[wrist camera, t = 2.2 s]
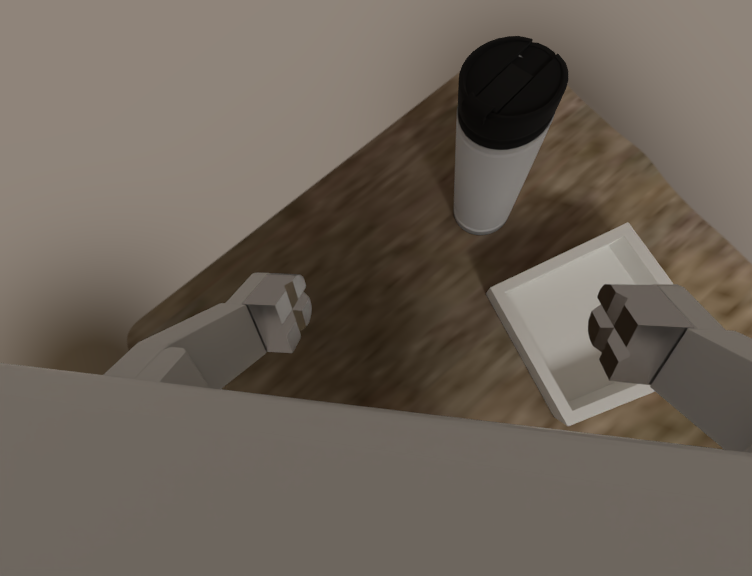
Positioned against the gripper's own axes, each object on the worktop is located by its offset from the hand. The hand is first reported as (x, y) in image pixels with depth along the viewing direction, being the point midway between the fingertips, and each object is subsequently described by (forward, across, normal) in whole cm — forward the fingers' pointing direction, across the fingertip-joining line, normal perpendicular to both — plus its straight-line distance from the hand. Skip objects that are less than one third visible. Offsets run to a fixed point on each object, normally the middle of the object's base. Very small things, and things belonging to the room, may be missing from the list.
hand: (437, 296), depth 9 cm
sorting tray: (+20, -14, +18) cm, 31 cm away
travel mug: (+30, -4, +10) cm, 32 cm away
